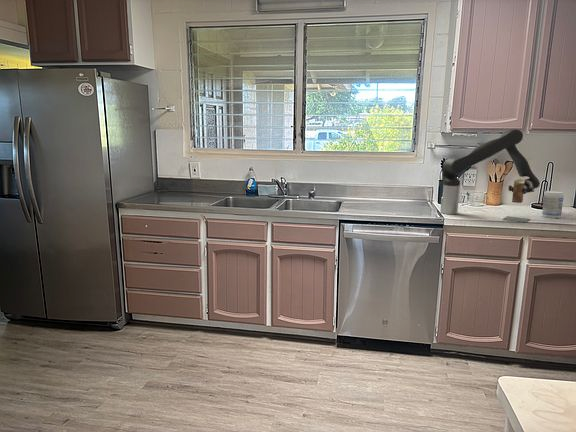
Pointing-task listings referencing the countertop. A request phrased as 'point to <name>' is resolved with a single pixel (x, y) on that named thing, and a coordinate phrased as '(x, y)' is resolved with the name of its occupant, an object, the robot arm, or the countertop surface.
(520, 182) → the walnut post
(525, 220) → the rubber mat
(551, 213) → the supplement tub
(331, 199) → the countertop surface
